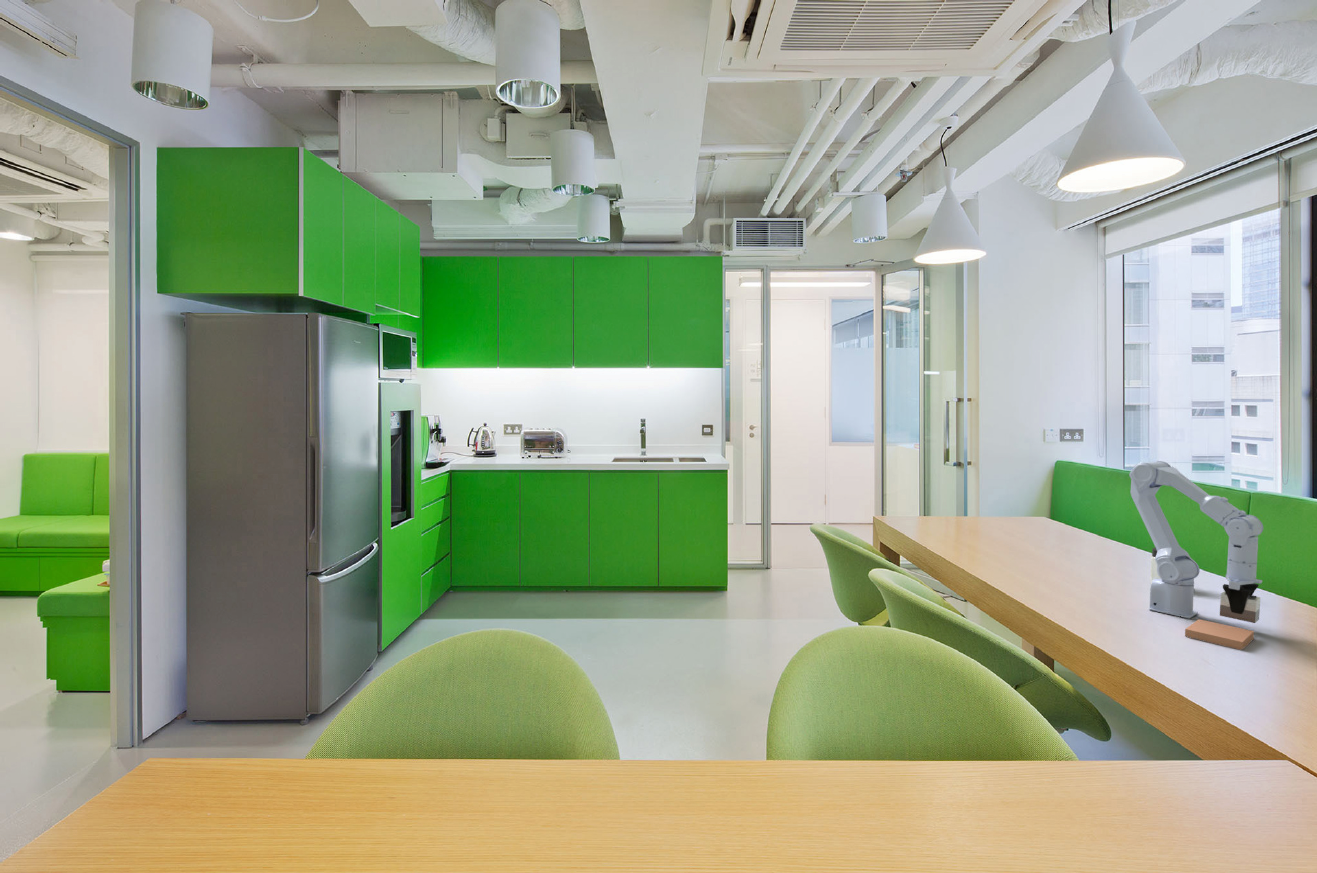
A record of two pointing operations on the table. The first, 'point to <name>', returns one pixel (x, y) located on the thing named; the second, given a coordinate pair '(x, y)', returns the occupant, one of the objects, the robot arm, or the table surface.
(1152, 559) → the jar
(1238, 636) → the stand
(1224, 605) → the block
